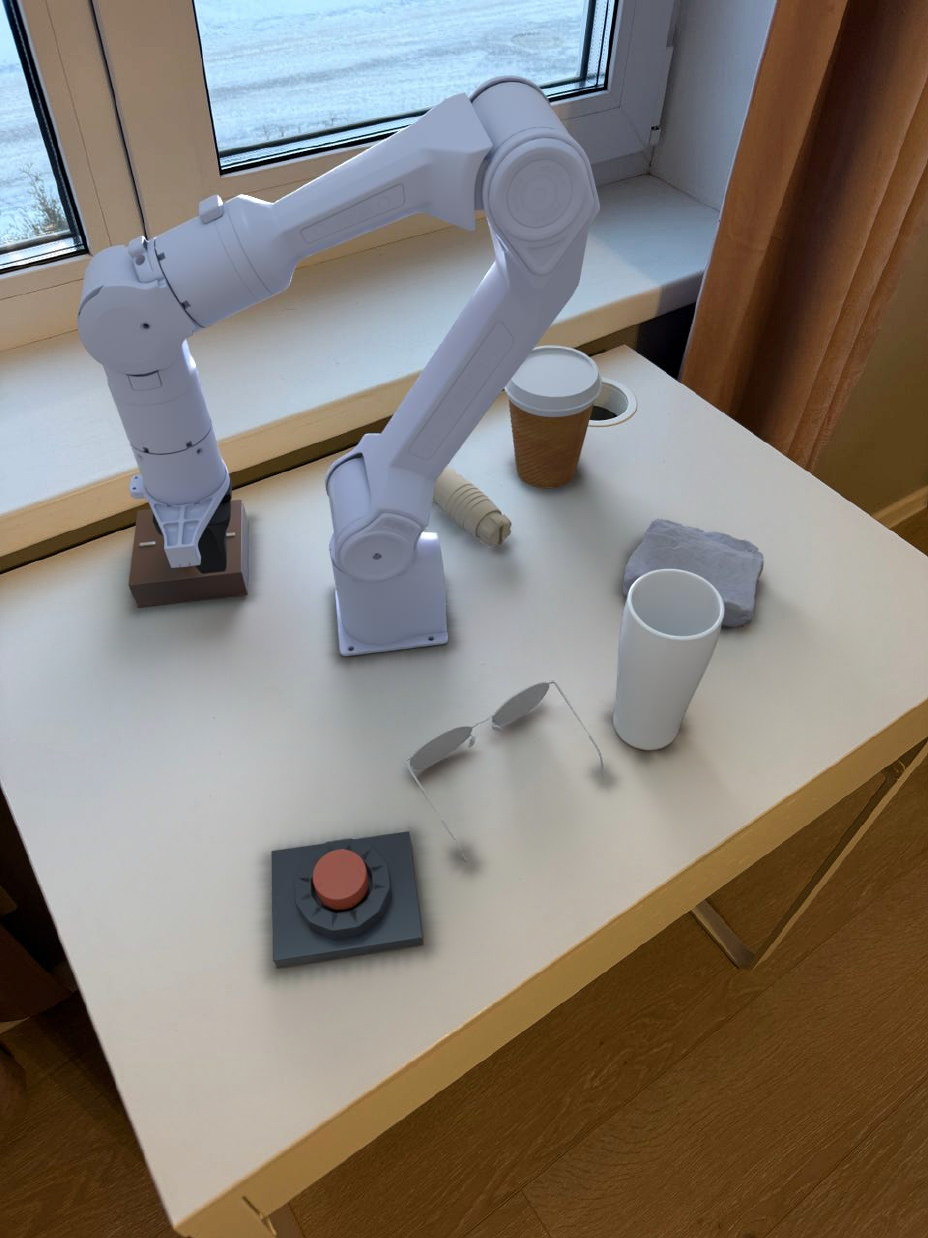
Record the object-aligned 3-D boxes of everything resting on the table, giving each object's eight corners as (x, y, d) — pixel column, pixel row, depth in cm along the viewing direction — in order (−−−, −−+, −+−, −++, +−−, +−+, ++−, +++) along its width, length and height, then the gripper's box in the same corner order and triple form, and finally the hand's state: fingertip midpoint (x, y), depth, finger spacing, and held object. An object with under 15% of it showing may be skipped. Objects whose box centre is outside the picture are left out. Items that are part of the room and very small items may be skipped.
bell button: (366, 857, 63) (364, 845, 61) (370, 906, 60) (368, 895, 59) (314, 864, 62) (311, 853, 61) (317, 914, 60) (313, 903, 59)
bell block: (410, 839, 66) (408, 820, 64) (423, 945, 61) (421, 928, 59) (274, 859, 65) (267, 840, 63) (276, 968, 60) (268, 952, 58)
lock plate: (248, 521, 89) (242, 497, 87) (248, 594, 83) (241, 570, 80) (146, 533, 88) (136, 509, 86) (137, 607, 82) (127, 584, 79)
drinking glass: (634, 774, 70) (664, 654, 58) (587, 711, 74) (607, 587, 62) (704, 740, 72) (747, 617, 60) (654, 680, 76) (686, 554, 64)
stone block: (639, 547, 89) (614, 601, 81) (650, 505, 86) (625, 558, 78) (758, 582, 86) (744, 642, 78) (774, 541, 83) (761, 599, 75)
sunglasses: (546, 701, 74) (556, 671, 70) (606, 782, 71) (621, 756, 67) (401, 780, 70) (403, 753, 65) (458, 871, 66) (464, 849, 62)
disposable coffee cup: (490, 448, 96) (492, 350, 87) (575, 434, 98) (585, 336, 89) (514, 506, 90) (518, 406, 81) (604, 490, 92) (617, 391, 83)
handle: (474, 567, 86) (381, 483, 93) (524, 537, 88) (430, 457, 95) (476, 532, 82) (378, 447, 89) (527, 502, 85) (429, 421, 92)
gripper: (121, 374, 66) (169, 511, 76) (97, 504, 57) (155, 640, 67) (218, 365, 67) (253, 502, 77) (210, 492, 57) (250, 630, 68)
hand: (213, 566), depth 72 cm, fingers closed
